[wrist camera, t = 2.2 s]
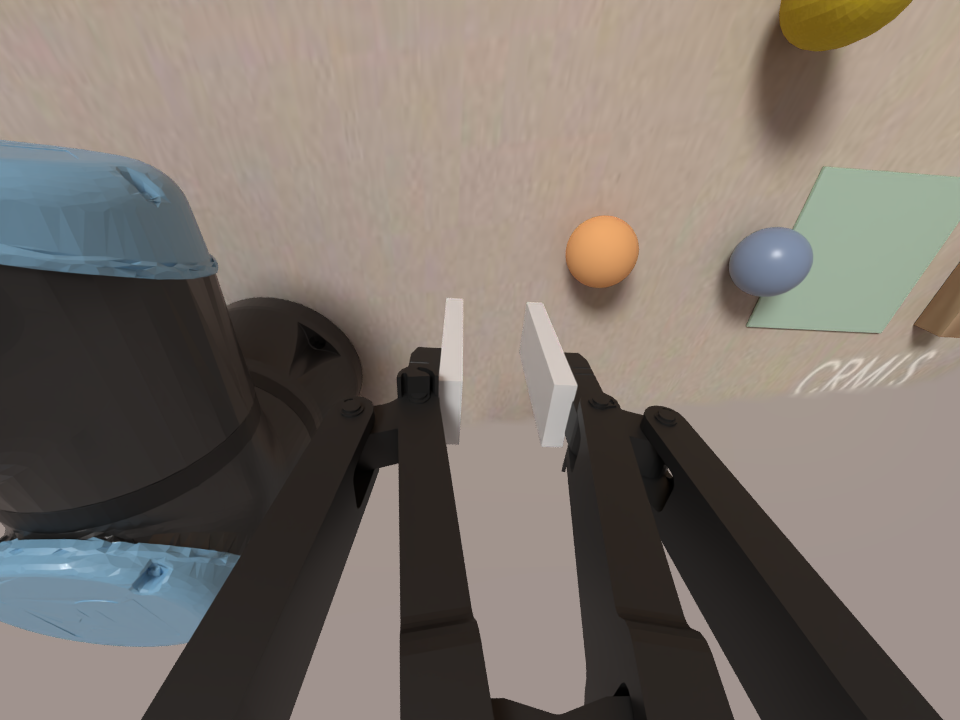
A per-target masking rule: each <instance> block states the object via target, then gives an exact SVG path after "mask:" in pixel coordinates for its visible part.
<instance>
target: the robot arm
mask: <svg viewBox="0 0 960 720" xmlns="http://www.w3.org/2000/svg"><path fill="white" fill-rule="evenodd" d="M217 272H218V263H217V261H216V259H215V258H214V257H213V256H212V255H211V254H209V252H208V249H207V247H206V244H205V242H204V239H203V237H202V234H201V232H200V230H199V227H198V225H197V222H196V220H195V217H194V215H193V212H192V210H191V207H190V205H189V202H188V200H187V198H186V196H185V195H184V193H183V192H182V190H181V189H180V188H179V186H178V185H177V184H176V183H175V182H174V181H173V180H172V179H171V178H170V177H168V176H167V175H166V174H164V173H163V172H162V171H160V170H158V169H156V168H155V167H153V166H151V165H149V164H146V163H144V162H142V161H139V160H136V159H132V158H128V157H124V156H120V155H114V154H108V153H101V152H95V151H89V150H82V149H74V148H67V147H59V146H51V145H42V144H33V143H24V142H15V141H6V140H0V522H1V523H2V525H3V526H4V527H5V529H6V530H5V534H4V536H3V537H1V538H0V621H1V622H4V623H7V624H10V625H12V626H16V627H19V628H22V629H25V630H28V631H32V632H35V633H39V634H43V635H48V636H52V637H56V638H62V639H67V640H73V641H79V642H86V643H94V644H102V645H113V646H114V645H115V646H133V647H134V646H135V647H137V646H138V647H154V646H169V645H178V644H184V643H187V645H186V647H185V649H184V650H183V652H182V653H181V655H180V657H179V658H178V660H177V662H176V663H175V665H174V666H173V668H172V670H171V671H170V673H169V675H168V676H167V678H166V680H165V682H164V683H163V685H162V686H161V688H160V690H159V691H158V693H157V694H156V696H155V698H154V699H153V701H152V703H151V704H150V706H149V708H148V709H147V711H146V713H145V714H144V716H143V717H142V719H141V720H289V719H290V716H291V714H292V711H293V708H294V705H295V702H296V700H297V697H298V694H299V691H300V688H301V686H302V683H303V680H304V677H305V675H306V672H307V669H308V666H309V664H310V661H311V658H312V655H313V652H314V650H315V647H316V644H317V641H318V638H319V636H320V633H321V630H322V627H323V625H324V621H325V619H326V616H327V614H328V611H329V608H330V605H331V602H332V600H333V597H334V594H335V591H336V589H337V586H338V583H339V580H340V578H341V574H342V571H343V569H344V566H345V563H346V561H347V558H348V555H349V552H350V550H351V547H352V544H353V541H354V538H355V536H356V533H357V530H358V528H359V525H360V522H361V519H362V516H363V514H364V511H365V508H366V505H367V503H368V500H369V497H370V494H371V491H372V489H373V486H374V483H375V480H376V478H377V474H378V472H379V468H381V467H385V466H389V465H393V464H397V463H399V533H400V535H399V536H400V616H401V617H400V619H401V627H400V719H401V720H734V717H733V714H732V711H731V709H730V706H729V702H728V700H727V697H726V694H725V691H724V688H723V685H722V682H721V679H720V676H719V673H718V670H717V667H716V664H715V661H714V658H713V655H712V652H711V650H710V648H709V646H708V643H707V641H706V640H705V638H704V637H703V636H702V634H701V633H700V632H698V631H696V630H694V629H692V628H690V627H689V625H688V624H687V622H686V620H685V617H684V614H683V611H682V608H681V605H680V601H679V598H678V594H677V591H676V588H675V585H674V582H673V578H672V575H671V572H670V568H669V565H668V562H667V559H666V555H665V552H664V549H663V545H662V543H663V544H664V546H665V548H666V550H667V552H668V553H669V555H670V557H671V559H672V560H673V562H674V564H675V566H676V568H677V570H678V571H679V573H680V575H681V577H682V579H683V580H684V582H685V584H686V586H687V587H688V589H689V591H690V593H691V595H692V596H693V598H694V600H695V602H696V604H697V605H698V607H699V609H700V611H701V613H702V614H703V616H704V618H705V620H706V622H707V623H708V625H709V627H710V629H711V630H712V632H713V634H714V636H715V638H716V640H717V641H718V643H719V645H720V647H721V648H722V650H723V652H724V654H725V656H726V657H727V659H728V661H729V663H730V665H731V666H732V668H733V670H734V672H735V674H736V675H737V677H738V679H739V681H740V683H741V684H742V686H743V688H744V690H745V691H746V693H747V695H748V697H749V698H750V700H751V702H752V704H753V706H754V708H755V709H756V711H757V713H758V715H759V717H760V718H761V720H943V719H942V718H941V717H940V716H939V714H938V713H937V712H936V711H935V710H934V709H933V707H932V706H931V705H930V704H929V703H928V702H927V701H926V699H925V698H924V697H923V696H922V695H921V693H920V692H919V691H918V690H917V689H916V688H915V687H914V685H913V684H912V683H911V682H910V681H909V679H908V678H907V677H906V676H905V675H904V674H903V672H902V671H901V670H900V669H899V668H898V667H897V665H896V664H895V663H894V662H893V661H892V660H891V659H890V657H889V656H888V655H887V654H886V653H885V651H884V650H883V649H882V648H881V647H880V646H879V644H877V642H876V641H875V640H874V639H873V637H872V636H871V635H870V634H869V633H868V632H867V630H866V629H865V628H864V627H863V626H862V625H861V623H860V622H859V621H858V620H857V619H856V618H855V617H854V615H853V614H852V613H851V612H850V611H849V609H848V608H847V607H846V606H845V605H844V604H843V602H842V601H841V600H840V599H839V598H838V597H837V596H836V594H835V593H834V592H833V591H832V590H831V589H830V587H829V586H828V585H827V584H826V583H825V582H824V580H823V579H822V578H821V577H820V576H819V575H818V573H817V572H816V571H815V570H814V569H813V568H812V567H811V565H810V564H809V563H808V562H807V561H806V559H805V558H804V557H803V556H802V555H801V554H800V552H799V551H798V550H797V549H796V548H795V547H794V545H793V544H792V543H791V542H790V541H789V540H788V538H786V536H785V535H784V534H783V533H782V532H781V530H780V529H779V528H778V527H777V526H776V524H775V523H774V522H773V521H772V520H771V519H770V517H769V516H768V515H767V514H766V513H765V512H764V510H763V509H762V508H761V507H760V506H759V505H758V503H757V502H756V501H755V500H754V499H753V498H752V496H751V495H750V494H749V493H748V492H747V491H746V489H745V488H744V487H743V486H742V485H741V484H740V483H739V481H738V480H737V479H736V478H735V477H734V475H733V474H732V473H731V472H730V471H729V470H728V468H727V467H726V466H725V465H724V464H723V463H722V461H721V460H720V459H719V458H718V457H717V456H716V454H715V453H714V452H713V451H712V450H711V449H710V447H709V446H708V445H707V444H706V443H705V442H704V440H703V439H702V438H701V437H700V436H699V435H698V433H697V432H696V431H695V430H694V429H693V428H692V426H691V425H690V424H689V423H688V422H687V421H686V420H685V418H684V417H682V416H681V415H680V414H679V413H678V412H676V411H674V410H672V409H670V408H667V407H663V406H651V407H648V408H647V409H646V410H645V412H644V415H640V414H636V413H632V412H628V411H625V410H622V409H621V408H620V405H619V404H618V402H617V401H616V400H615V399H614V398H613V397H611V396H609V395H607V394H605V393H603V391H602V389H601V387H600V385H599V383H598V381H597V379H596V377H595V375H594V373H593V371H592V369H591V367H590V365H589V363H588V361H587V360H586V359H585V358H584V357H583V356H581V355H580V354H579V353H564V352H563V350H562V347H561V345H560V343H559V340H558V338H557V336H556V333H555V331H554V328H553V326H552V324H551V321H550V319H549V317H548V314H547V312H546V309H545V307H544V305H543V303H537V302H527V303H526V310H525V317H524V324H523V331H522V338H521V345H520V352H519V353H520V357H521V361H522V366H523V370H524V374H525V378H526V383H527V387H528V391H529V396H530V400H531V404H532V408H533V413H534V417H535V421H536V426H537V430H538V434H539V438H540V442H541V446H542V447H562V446H563V442H564V438H565V436H566V439H567V442H568V448H567V452H566V455H565V459H564V463H563V467H562V471H563V472H565V469H566V467H567V474H568V485H569V495H570V505H571V516H572V525H573V536H574V546H575V556H576V566H577V576H578V587H579V597H580V607H581V617H582V626H583V627H582V628H583V638H584V648H585V657H586V670H587V672H586V677H587V678H586V687H585V702H584V706H581V707H579V708H576V709H574V710H571V711H569V712H566V713H564V714H560V715H556V714H552V713H549V712H546V711H543V710H539V709H536V708H533V707H530V706H527V705H524V704H521V703H517V702H514V701H511V700H508V699H505V698H490V692H489V686H488V680H487V674H486V668H485V662H484V656H483V650H482V643H481V638H480V633H479V628H478V625H477V621H476V620H475V619H474V617H473V613H472V608H471V602H470V596H469V590H468V583H467V577H466V570H465V563H464V557H463V550H462V545H461V538H460V532H459V524H458V518H457V512H456V505H455V499H454V493H453V486H452V480H451V473H450V466H449V460H448V454H447V447H446V444H459V436H460V419H461V401H462V383H463V299H459V298H447V299H446V309H445V319H444V330H443V340H442V348H425V347H418V348H417V349H416V350H415V351H414V352H413V353H412V354H411V357H410V363H409V366H408V367H406V368H404V369H402V370H401V371H400V372H399V373H398V375H397V392H398V398H397V399H396V400H394V401H392V402H390V403H387V404H383V405H378V406H373V404H372V402H371V401H370V400H368V399H366V398H363V397H358V395H359V393H360V389H361V385H362V369H361V364H360V361H359V358H358V355H357V353H356V351H355V349H354V347H353V345H352V344H351V342H350V341H349V340H348V338H347V337H346V336H345V335H344V333H343V332H342V331H341V330H340V329H339V328H338V327H337V326H336V325H334V324H333V323H332V322H331V321H329V320H328V319H327V318H325V317H324V316H322V315H321V314H319V313H317V312H316V311H314V310H312V309H310V308H308V307H305V306H303V305H300V304H297V303H295V302H291V301H287V300H283V299H277V298H262V297H261V298H249V299H244V300H240V301H237V302H234V303H232V304H230V305H227V306H226V303H225V300H224V297H223V294H222V291H221V288H220V285H219V282H218V279H217V276H216V273H217ZM668 468H669V470H670V471H671V473H672V475H673V477H672V476H671V474H670V473H669V472H668V470H667V469H668ZM661 541H662V542H661Z"/></svg>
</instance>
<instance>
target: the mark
mask: <svg viewBox="0 0 960 720" xmlns="http://www.w3.org/2000/svg"><path fill="white" fill-rule="evenodd" d="M959 221H960V177H951V176H938V175H926V174H913V173H900V172H887V171H875V170H862V169H849V168H836V167H824V166H823V168H822V170H821V172H820V174H819V176H818V178H817V180H816V182H815V184H814V186H813V189H812V191H811V193H810V195H809V197H808V199H807V201H806V203H805V205H804V207H803V209H802V211H801V213H800V215H799V217H798V220H797V222H796V224H795V226H794V228H793V230H795V231H797V232H799V233H800V234H802V235H803V236H804V237H805V238H806V239H807V240H808V242H809V243H810V245H811V247H812V250H813V264H812V267H811V270H810V272H809V273H808V275H807V276H806V278H805V279H804V280H803V281H802V282H801V283H800V284H799V285H798V286H796V287H795V288H793V289H792V290H790V291H788V292H786V293H783V294H780V295H776V296H771V297H760V298H759V300H758V302H757V304H756V306H755V308H754V310H753V312H752V315H751V317H750V319H749V321H748V323H747V325H746V326H747V327H765V328H786V329H806V330H827V331H847V332H868V333H882V331H883V330H884V329H885V327H886V326H887V324H888V323H889V321H890V320H891V318H892V317H893V316H894V314H895V313H896V311H897V310H898V308H899V307H900V306H901V304H902V303H903V301H904V300H905V298H906V297H907V296H908V294H909V293H910V291H911V290H912V288H913V287H914V286H915V284H916V283H917V281H918V280H919V278H920V277H921V276H922V274H923V273H924V271H925V270H926V268H927V267H928V266H929V264H930V263H931V261H932V260H933V258H934V257H935V255H936V254H937V253H938V251H939V250H940V248H941V247H942V245H943V244H944V243H945V241H946V240H947V238H948V237H949V235H950V234H951V233H952V231H953V230H954V228H955V227H956V225H957V224H958V223H959Z"/></svg>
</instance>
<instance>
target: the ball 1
mask: <svg viewBox="0 0 960 720" xmlns="http://www.w3.org/2000/svg"><path fill="white" fill-rule="evenodd" d="M638 253H639V245H638V240H637V237H636V234H635V233H634V231H633V229H632V228H631V227H630V226H629V225H628V224H627V223H626V222H625V221H623V220H621V219H619V218H617V217H613V216H597V217H593V218H591V219H588V220H587V221H585V222H583V223H582V224H580V225H579V226H578V227H577V228H576V229H575V230H574V232H573V233H572V235H571V237H570V238H569V241H568V243H567V247H566V262H567V266H568V268H569V270H570V272H571V274H572V275H573V276H574V277H575V278H576V279H577V280H578V281H579V282H581V283H582V284H584V285H587V286H590V287H595V288H604V287H609V286H612V285H615V284H617V283H619V282H620V281H622V280H623V279H624V278H626V277H627V276H628V275H629V273H630V272H631V271H632V269H633V268H634V266H635V264H636V261H637V258H638Z"/></svg>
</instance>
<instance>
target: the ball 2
mask: <svg viewBox="0 0 960 720" xmlns="http://www.w3.org/2000/svg"><path fill="white" fill-rule="evenodd" d="M812 264H813V250H812V247H811V245H810V243H809V242H808V240H807V239H806V238H805V237H804V236H803V235H802V234H800V233H799V232H797V231H795V230H792V229H789V228H783V227H772V228H765V229H762V230H759V231H756V232H754V233H752V234H750V235H749V236H747V237H746V238H744V239H743V240H742V241H741V242H740V243H739V244H738V245H737V246H736V248H735V249H734V251H733V253H732V255H731V257H730V261H729V273H730V276H731V279H732V281H733V282H734V284H735V285H736V286H737V287H738V288H739V289H741V290H742V291H744V292H746V293H748V294H750V295H754V296H760V297H771V296H776V295H780V294H783V293H786V292H788V291H790V290H792V289H793V288H795V287H796V286H798V285H799V284H800V283H801V282H802V281H803V280H804V279H805V278H806V276H807V275H808V273H809V272H810V270H811V267H812Z"/></svg>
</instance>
